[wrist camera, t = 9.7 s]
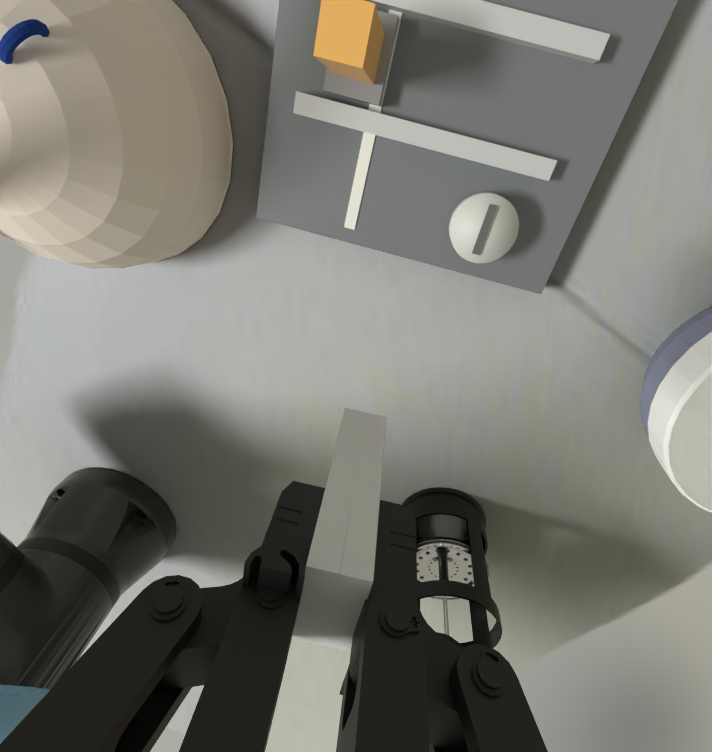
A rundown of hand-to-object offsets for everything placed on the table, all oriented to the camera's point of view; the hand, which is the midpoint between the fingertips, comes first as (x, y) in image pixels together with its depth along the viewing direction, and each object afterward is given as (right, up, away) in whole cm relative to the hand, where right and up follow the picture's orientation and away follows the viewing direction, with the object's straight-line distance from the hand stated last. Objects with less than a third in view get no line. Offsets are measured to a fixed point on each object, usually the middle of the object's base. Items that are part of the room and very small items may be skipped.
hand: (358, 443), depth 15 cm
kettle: (-19, +21, +17) cm, 33 cm away
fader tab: (0, +22, +11) cm, 25 cm away
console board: (+5, +20, +13) cm, 25 cm away
